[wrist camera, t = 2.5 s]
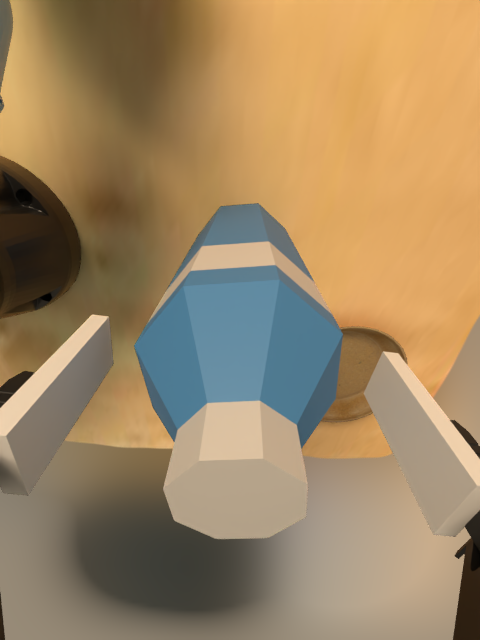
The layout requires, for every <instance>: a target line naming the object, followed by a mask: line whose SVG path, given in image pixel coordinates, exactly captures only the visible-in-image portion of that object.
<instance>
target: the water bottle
mask: <svg viewBox="0 0 480 640" xmlns="http://www.w3.org/2000/svg"><path fill="white" fill-rule="evenodd" d="M342 338H343V333H342V331H341V330H340V328H339V326H338V324H337V322H336V321H335V319H334V317H333V315H332V313H331V311H330V310H329V308H328V306H327V304H326V302H325V301H324V299H323V297H322V295H321V293H320V291H319V290H318V288H317V286H316V284H315V282H314V280H313V279H312V277H311V275H310V273H309V271H308V270H307V268H306V266H305V264H304V262H303V260H302V259H301V257H300V255H299V253H298V251H297V250H296V248H295V246H294V244H293V242H292V240H291V239H290V237H289V235H288V233H287V231H286V229H285V228H284V227H283V226H282V225H281V224H280V223H279V222H277V221H276V220H275V219H274V218H273V217H272V216H271V215H270V214H269V213H268V212H267V211H266V210H265V209H264V208H263V207H262V206H260V205H259V204H258V203H257V204H244V205H231V206H221V207H220V208H219V209H218V210H217V212H216V213H215V214H214V216H213V217H212V218H211V219H210V221H209V222H208V223H207V225H206V226H205V227H204V228H203V230H202V231H201V232H200V234H199V235H198V237H197V238H196V240H195V242H194V243H193V245H192V247H191V249H190V250H189V252H188V254H187V255H186V257H185V259H184V261H183V262H182V264H181V266H180V268H179V269H178V271H177V273H176V274H175V276H174V278H173V280H172V281H171V283H170V285H169V287H168V288H167V290H166V292H165V293H164V295H163V297H162V299H161V300H160V302H159V304H158V305H157V307H156V309H155V311H154V312H153V314H152V316H151V318H150V319H149V321H148V323H147V324H146V326H145V328H144V330H143V331H142V333H141V335H140V337H139V338H138V340H137V342H136V343H135V345H134V347H135V350H136V354H137V357H138V360H139V363H140V367H141V370H142V373H143V376H144V380H145V383H146V386H147V390H148V393H149V396H150V399H151V403H152V406H153V408H154V410H155V412H156V413H157V415H158V416H159V418H160V420H161V421H162V423H163V425H164V426H165V428H166V429H167V431H168V433H169V434H170V436H171V438H172V439H173V441H174V442H175V443H174V447H173V451H172V455H171V459H170V463H169V468H168V472H167V475H166V480H165V484H164V488H163V490H164V493H165V496H166V498H167V501H168V504H169V507H170V510H171V513H172V516H173V519H174V521H176V522H178V523H181V524H183V525H185V526H188V527H190V528H192V529H195V530H197V531H199V532H202V533H204V534H206V535H209V536H211V537H213V538H215V539H238V538H269V537H270V536H272V535H274V534H276V533H278V532H280V531H281V530H283V529H285V528H287V527H289V526H291V525H293V524H294V523H296V522H298V521H300V520H302V519H304V518H305V517H306V508H307V493H308V492H307V491H308V481H307V476H306V471H305V467H304V461H303V456H302V450H301V449H302V447H303V446H304V444H305V443H306V441H307V440H308V438H309V437H310V435H311V434H312V433H313V431H314V430H315V428H316V427H317V425H318V424H319V422H320V421H321V420H322V418H323V417H324V415H325V414H326V412H327V411H328V409H329V408H330V406H331V405H332V404H333V402H334V401H335V399H336V391H337V382H338V373H339V364H340V356H341V347H342Z"/></svg>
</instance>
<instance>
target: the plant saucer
mask: <svg viewBox="0 0 480 640" xmlns="http://www.w3.org/2000/svg"><path fill="white" fill-rule="evenodd" d="M340 330H341V331H342V333H343V338H342V347H341V356H340V364H339V373H338V382H337V391H336V399H335V401H334V402H333V404H332V405H331V406H330V408H329V409H328V411H327V412H326V414H325V415H324V417H323V418H322V420H321V421H325V422H345V421H351V420H356V419H359V418H362V417H365V416H367V415H370V414H372V413H373V412H372V409H371V407H370V405H369V403H368V401H367V399H366V397H365V395H364V392H365V389H366V387H367V385H368V383H369V381H370V378H371V376H372V374H373V372H374V370H375V368H376V365H377V363H378V361H379V359H380V357H381V354H382V352H383V351H384V352H392V353H398V354H399V355H400V356H401V358H402V359H403V360H404V361H405V363H406V364H407V358H406V354H405V352H404V350H403V348H402V347H401V345H400V344H399V343H398V342H397V341H396V340H395V339H394V338H392V337H391V336H389V335H388V334H386V333H384V332H382V331H379V330H376V329H373V328H368V327H359V326H352V327H342V328H340Z"/></svg>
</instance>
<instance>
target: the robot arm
mask: <svg viewBox="0 0 480 640" xmlns="http://www.w3.org/2000/svg"><path fill="white" fill-rule="evenodd" d="M12 30H13V16H12V9H11V4H10V0H0V92H1V87H2V81H3V76H4V71H5V66H6V61H7V56H8V51H9V46H10V41H11V36H12ZM3 107H4V103H3V100H2V97H1V95H0V113H1V111H2V110H3ZM80 260H81V252H80V244H79V239H78V235H77V232H76V229H75V227H74V224H73V222H72V220H71V218H70V216H69V214H68V212H67V211H66V209H65V208H64V206H63V205H62V203H61V202H60V200H59V199H58V198H57V197H56V195H55V194H54V193H53V192H52V191H51V190H50V189H49V188H48V187H47V186H46V185H45V184H44V183H43V182H42V181H41V180H40V179H39V178H37V177H36V176H35V175H34V174H32V173H31V172H30V171H28V170H27V169H25V168H24V167H22V166H20V165H19V164H17V163H15V162H13V161H11V160H9V159H7V158H4V157H2V156H0V319H1V318H6V317H10V316H14V315H18V314H23V313H27V312H31V311H35V310H38V309H41V308H43V307H45V306H47V305H49V304H51V303H52V302H54V301H55V300H56V299H58V298H59V297H60V296H62V295H63V294H64V293H65V292H67V291H68V290H69V288H70V287H71V286H72V285H73V283H74V281H75V280H76V277H77V275H78V272H79V268H80ZM113 364H114V363H113V353H112V342H111V332H110V321H109V316H101V315H93V314H92V315H91V316H90V317H89V318H88V319H87V320H86V321H85V322H84V323H83V324H82V325H81V326H80V327H79V328H78V329H77V330H76V331H75V333H74V334H73V335H72V336H71V337H70V338H69V339H68V340H67V341H66V342H65V343H64V344H63V345H62V346H61V347H60V348H59V349H58V350H57V351H56V352H55V353H54V354H53V355H52V356H51V357H50V358H49V359H48V360H47V361H46V362H45V363H44V364H43V365H42V366H41V367H40V368H39V369H38V370H37V371H36V372H28V371H24V372H22V373H20V374H18V375H16V376H15V377H13V378H11V379H9V380H8V381H7V382H6V383H5V384H4V385H3V386H1V387H0V487H1V490H2V492H3V493H8V494H18V495H29V494H30V492H31V491H32V489H33V488H34V486H35V484H36V483H37V481H38V480H39V478H40V477H41V475H42V474H43V472H44V471H45V469H46V467H47V466H48V464H49V463H50V461H51V460H52V458H53V456H54V455H55V453H56V452H57V450H58V449H59V447H60V446H61V444H62V443H63V441H64V440H65V438H66V436H67V435H68V433H69V432H70V430H71V429H72V427H73V426H74V424H75V423H76V421H77V419H78V418H79V416H80V415H81V413H82V412H83V410H84V409H85V407H86V405H87V404H88V402H89V401H90V399H91V398H92V396H93V395H94V393H95V392H96V390H97V388H98V387H99V385H100V384H101V382H102V381H103V379H104V378H105V376H106V374H107V373H108V371H109V370H110V368H111V367H112V365H113ZM364 395H365V397H366V399H367V401H368V403H369V405H370V407H371V409H372V412H373V414H374V416H375V418H376V420H377V422H378V424H379V426H380V428H381V430H382V432H383V434H384V436H385V438H386V440H387V442H388V444H389V446H390V448H391V450H392V452H393V454H394V456H395V458H396V460H397V462H398V464H399V466H400V468H401V470H402V472H403V474H404V476H405V478H406V480H407V482H408V484H409V486H410V488H411V491H412V492H413V495H414V496H415V499H416V501H417V503H418V505H419V507H420V509H421V511H422V513H423V515H424V517H425V519H426V521H427V523H428V525H429V527H430V529H431V531H432V533H433V534H434V535H443V536H453V537H455V536H456V535H457V534H458V533H459V532H460V531H461V530H462V529H463V528H464V527H465V528H466V529H467V531H468V533H469V534H470V536H471V539H469V540H468V541H467V542H466V543H465V544H464V545H463V546H462V547H461V548H460V549H459V550H458V551H457V553H456V555H455V557H457V558H458V559H459V558H460V557H461V556H462V555H463V554H465V558H464V565H463V572H462V579H461V587H460V594H459V601H458V608H457V615H456V622H455V629H454V636H453V640H480V446H478V443H477V442H476V440H475V439H474V438H473V437H472V436H471V434H470V433H469V432H468V431H467V430H466V429H465V428H463V427H462V426H461V425H460V424H459V423H457V422H456V421H455V420H449V419H448V417H447V416H446V415H445V413H444V412H443V411H442V409H441V408H440V407H439V406H438V404H437V403H436V402H435V401H434V399H433V398H432V396H431V395H430V394H429V393H428V391H427V390H426V389H425V387H424V386H423V385H422V383H421V382H420V381H419V380H418V378H417V377H416V376H415V374H414V373H413V372H412V371H411V369H410V368H409V367H408V365H407V364H406V363H405V361H404V360H403V359H402V358H401V356H400V355H399V354H398V353H392V352H384V351H383V352H382V354H381V357H380V359H379V361H378V363H377V365H376V368H375V370H374V372H373V374H372V376H371V378H370V381H369V383H368V385H367V387H366V389H365V392H364ZM0 640H5V635H4V625H3V616H2V605H1V594H0Z"/></svg>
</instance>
